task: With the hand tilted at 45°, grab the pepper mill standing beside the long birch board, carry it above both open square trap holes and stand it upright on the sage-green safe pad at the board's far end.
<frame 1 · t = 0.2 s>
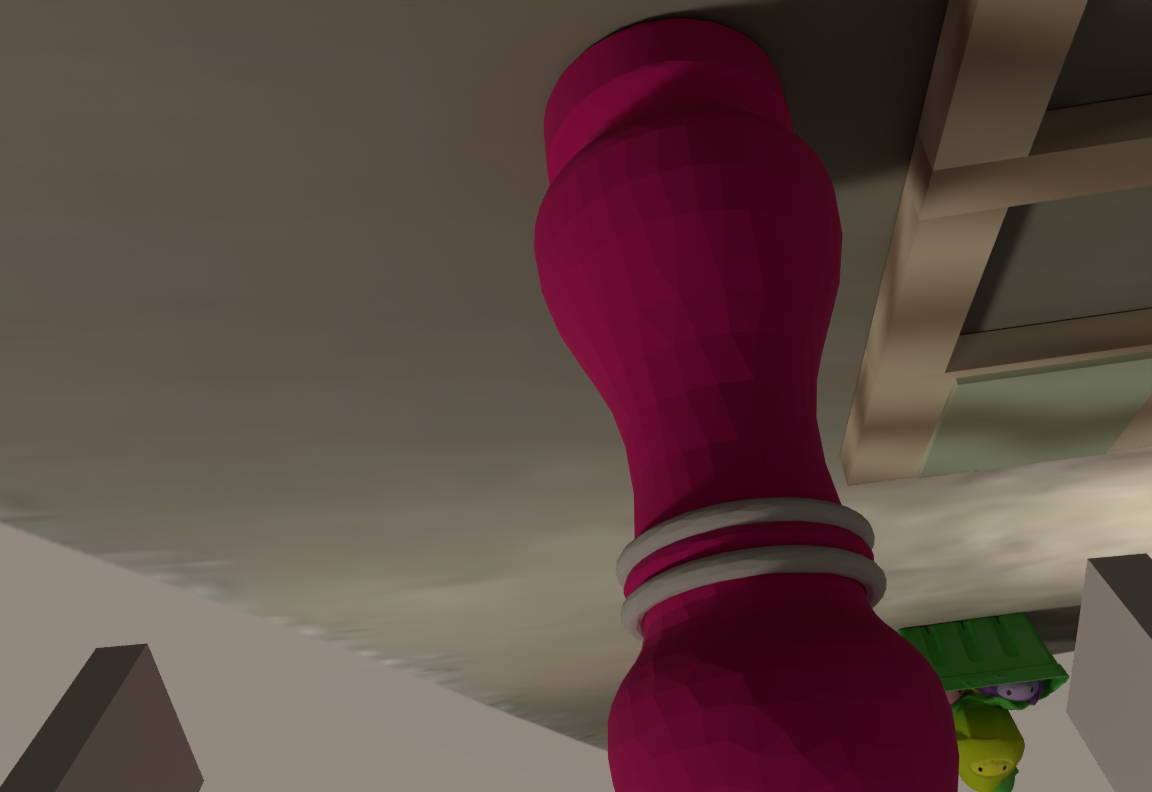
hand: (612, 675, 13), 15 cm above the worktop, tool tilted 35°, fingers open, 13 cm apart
fruit basket: (953, 629, 71), on the worktop
pepper mill: (660, 111, 25), on the worktop
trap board: (1113, 213, 30), on the worktop
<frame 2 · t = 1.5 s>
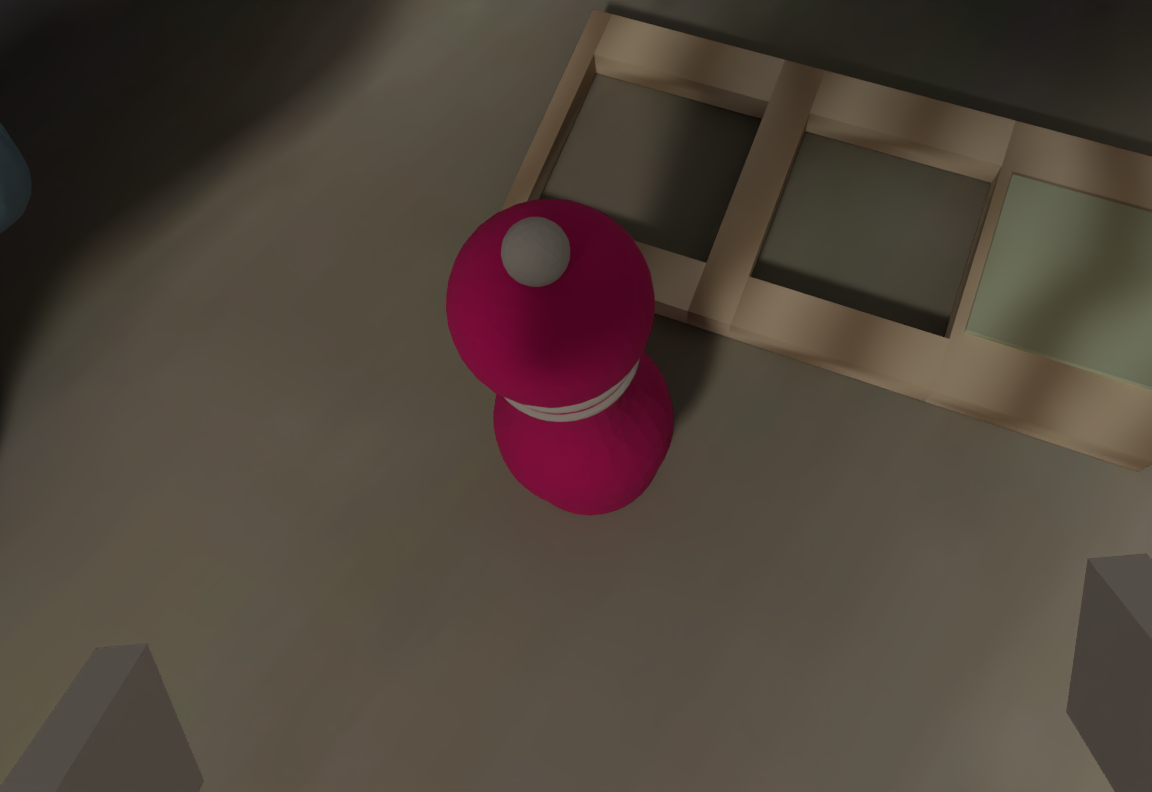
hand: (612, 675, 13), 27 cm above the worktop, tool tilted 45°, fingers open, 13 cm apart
pepper mill: (591, 447, 42), on the worktop
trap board: (837, 226, 44), on the worktop
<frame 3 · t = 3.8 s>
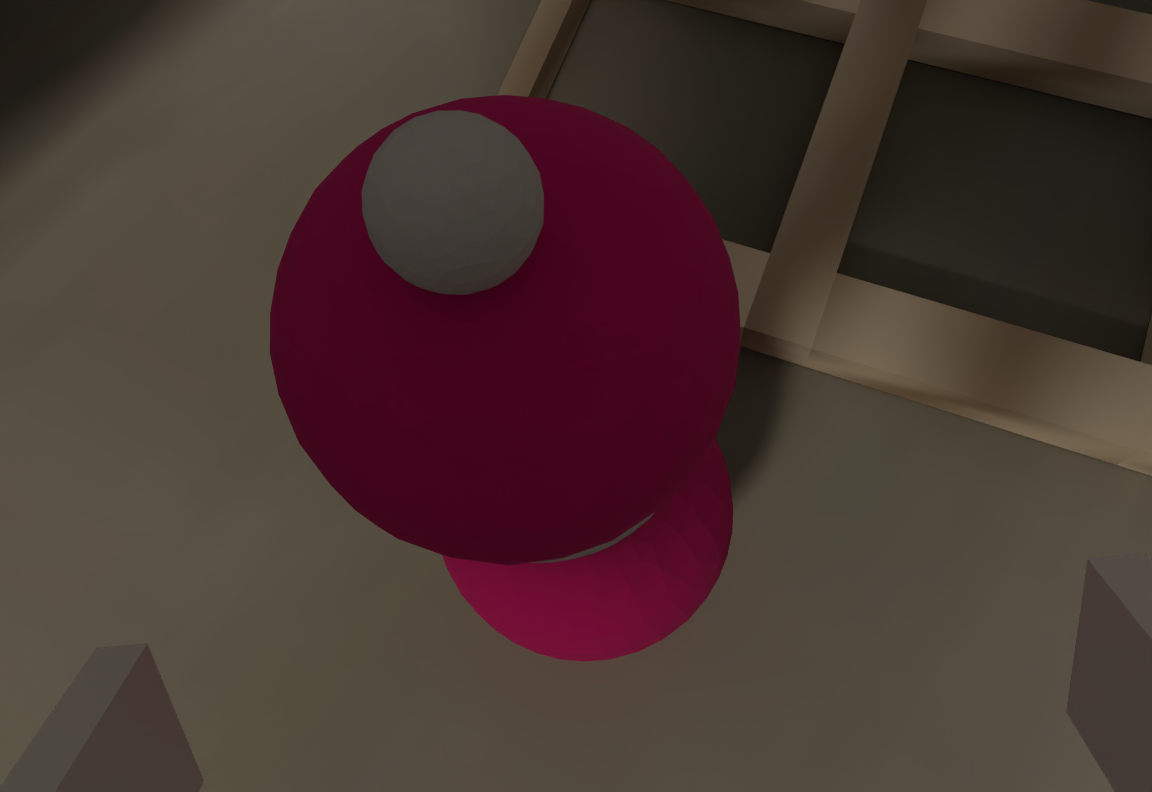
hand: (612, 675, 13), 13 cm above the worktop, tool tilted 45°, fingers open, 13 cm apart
pepper mill: (598, 539, 28), on the worktop
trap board: (964, 197, 30), on the worktop
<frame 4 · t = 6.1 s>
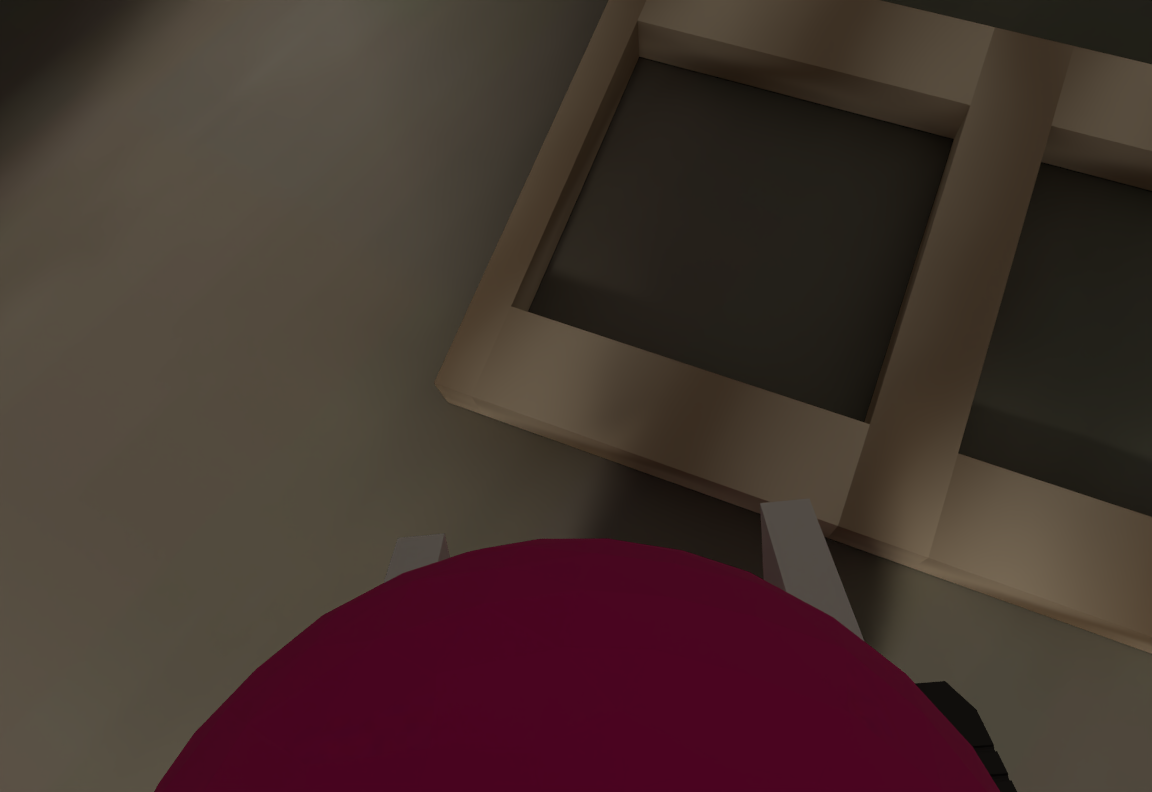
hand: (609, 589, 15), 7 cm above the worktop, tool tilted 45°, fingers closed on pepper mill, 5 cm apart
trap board: (1111, 343, 23), on the worktop
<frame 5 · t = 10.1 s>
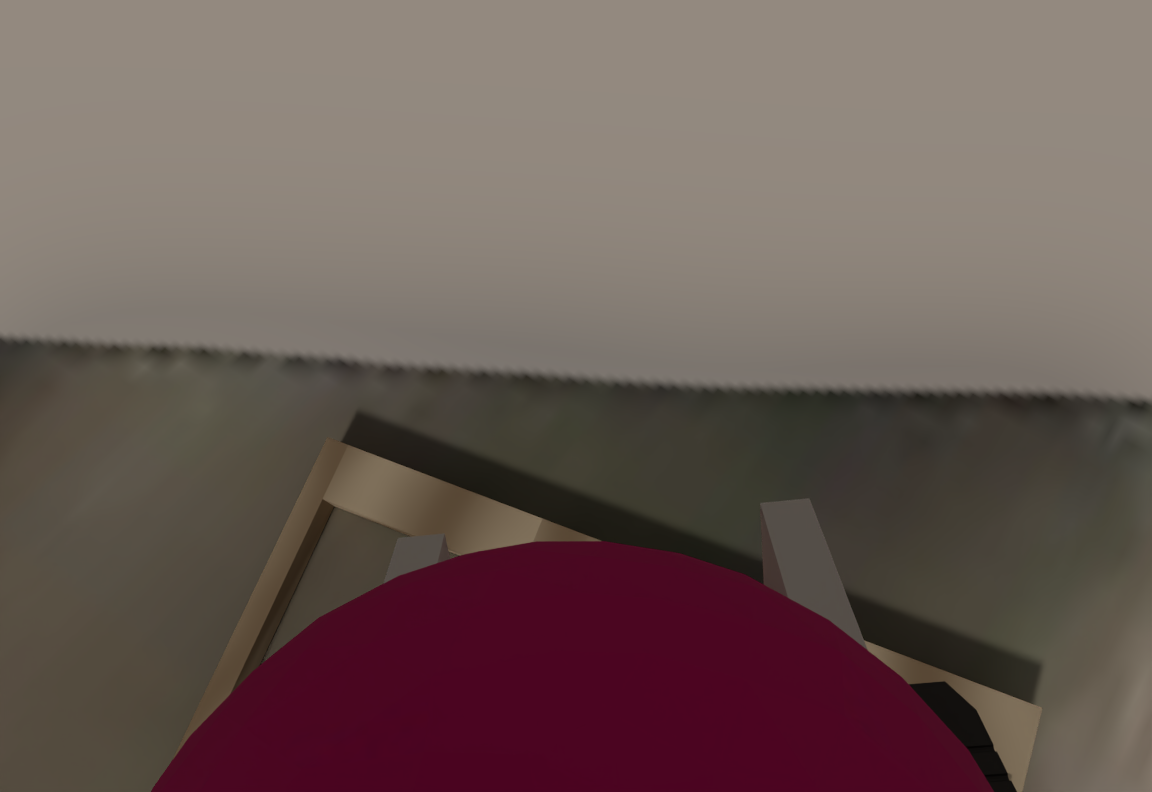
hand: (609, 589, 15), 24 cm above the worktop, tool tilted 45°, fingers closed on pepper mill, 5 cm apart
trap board: (597, 734, 37), on the worktop
when the fingers open (10 cm above the worktop, at t = 14.0 s): pepper mill stays where it is, resting on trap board.
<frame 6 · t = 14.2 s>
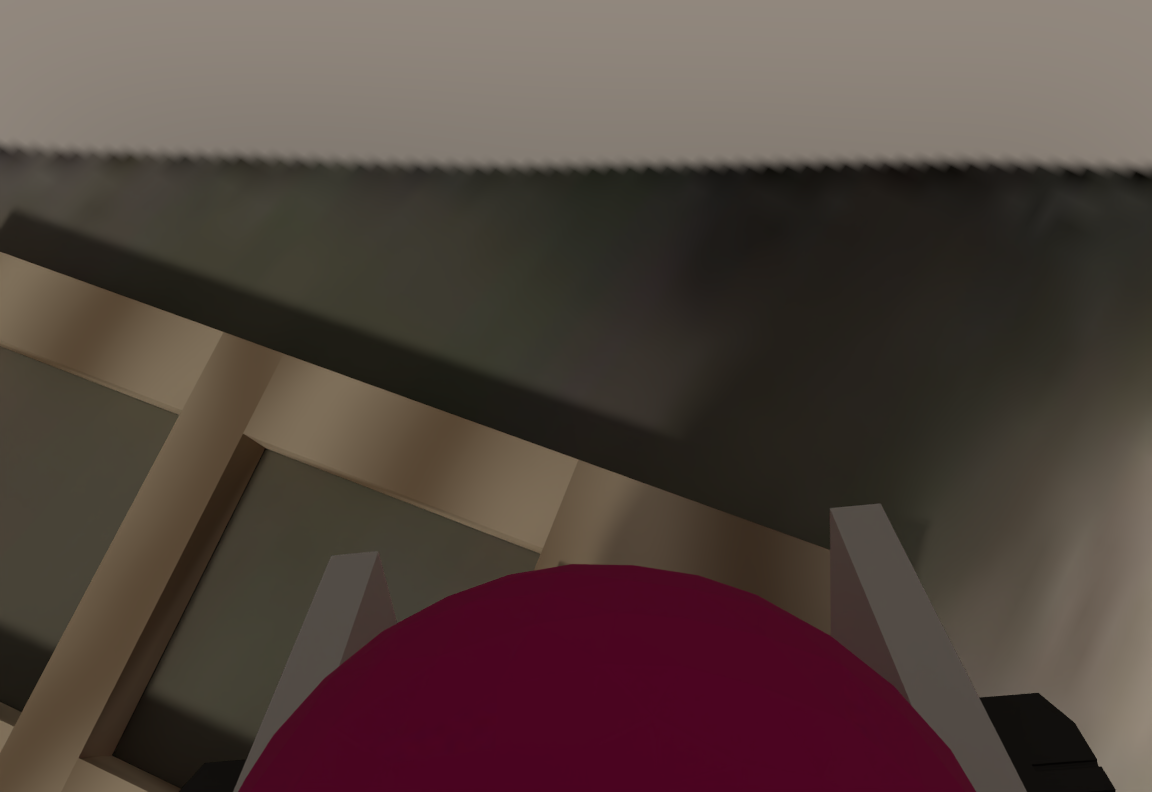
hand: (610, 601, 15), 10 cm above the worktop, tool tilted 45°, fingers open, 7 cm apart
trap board: (285, 634, 26), on the worktop
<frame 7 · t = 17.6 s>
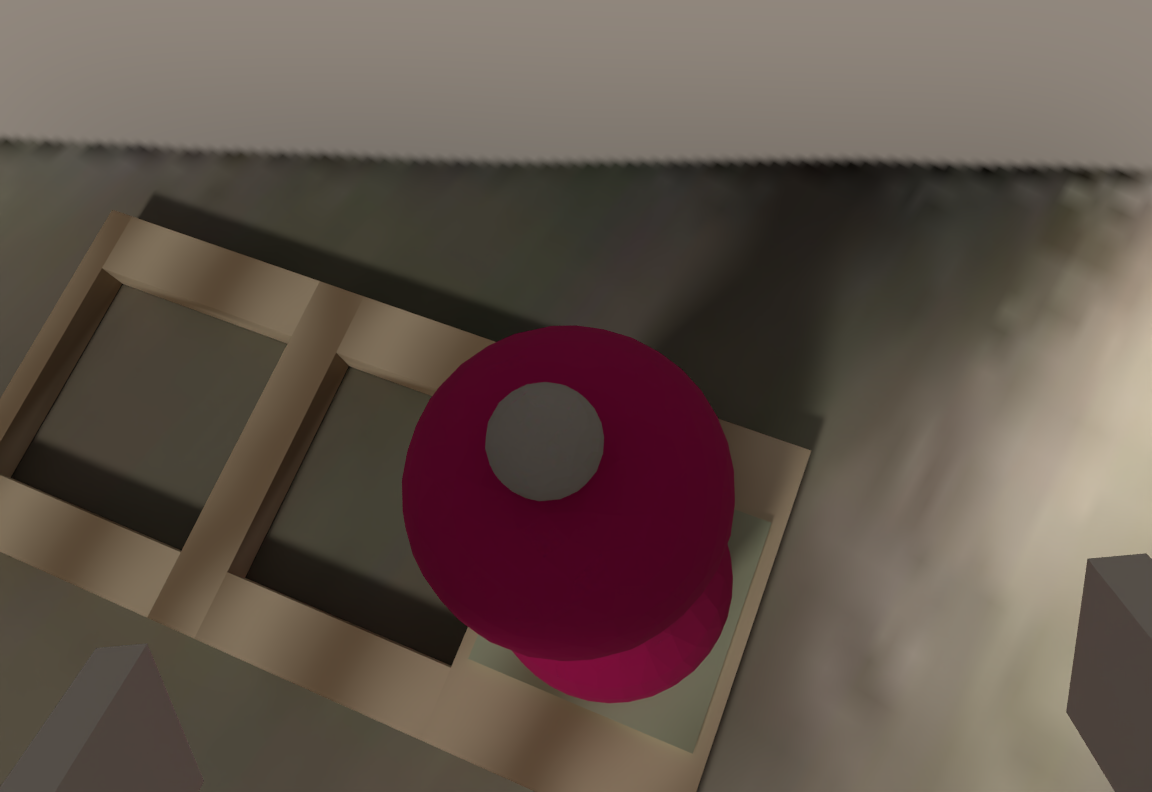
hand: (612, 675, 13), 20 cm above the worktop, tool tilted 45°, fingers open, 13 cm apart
pepper mill: (618, 593, 32), point 2 cm above the worktop, touching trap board
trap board: (366, 495, 36), on the worktop
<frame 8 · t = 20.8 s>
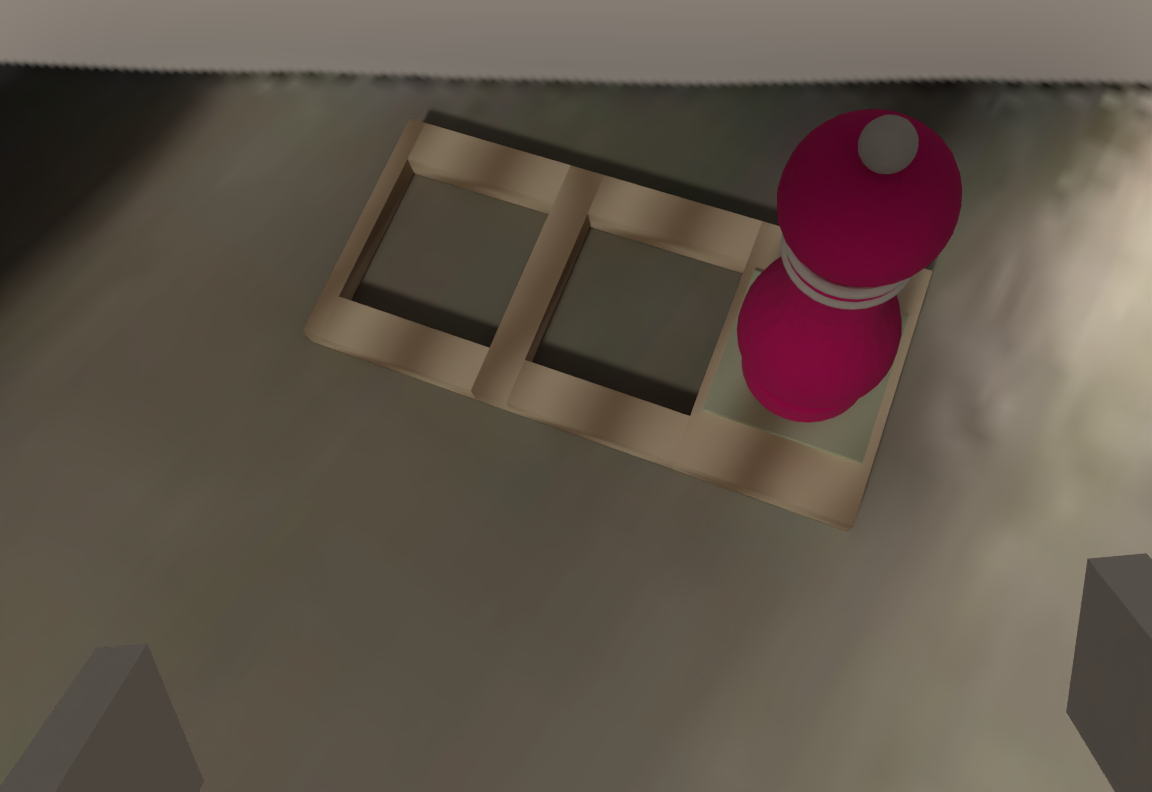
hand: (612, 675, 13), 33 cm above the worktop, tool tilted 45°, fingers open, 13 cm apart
pepper mill: (804, 365, 47), point 2 cm above the worktop, touching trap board
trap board: (611, 313, 51), on the worktop
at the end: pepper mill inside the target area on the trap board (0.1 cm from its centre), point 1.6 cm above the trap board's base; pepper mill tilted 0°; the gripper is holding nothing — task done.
